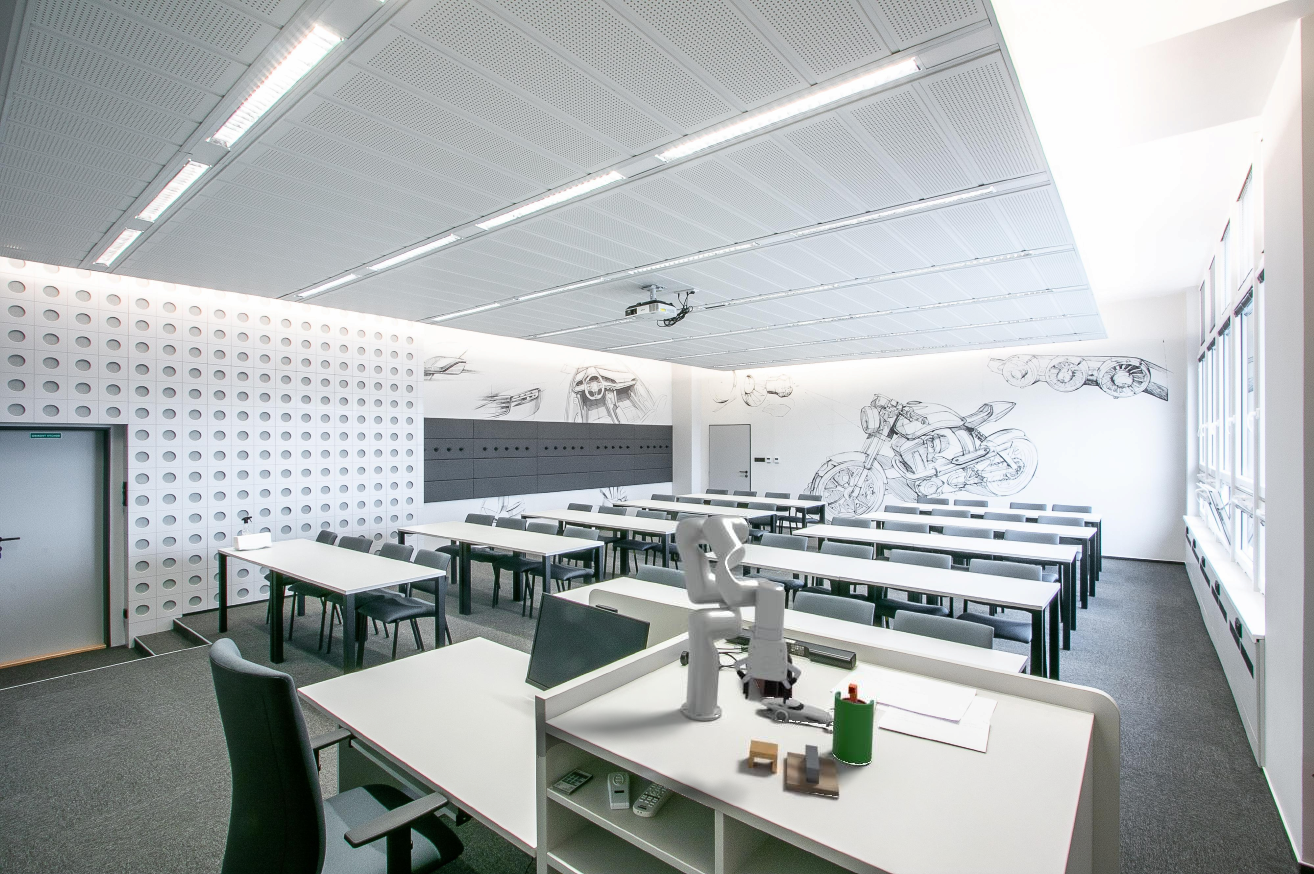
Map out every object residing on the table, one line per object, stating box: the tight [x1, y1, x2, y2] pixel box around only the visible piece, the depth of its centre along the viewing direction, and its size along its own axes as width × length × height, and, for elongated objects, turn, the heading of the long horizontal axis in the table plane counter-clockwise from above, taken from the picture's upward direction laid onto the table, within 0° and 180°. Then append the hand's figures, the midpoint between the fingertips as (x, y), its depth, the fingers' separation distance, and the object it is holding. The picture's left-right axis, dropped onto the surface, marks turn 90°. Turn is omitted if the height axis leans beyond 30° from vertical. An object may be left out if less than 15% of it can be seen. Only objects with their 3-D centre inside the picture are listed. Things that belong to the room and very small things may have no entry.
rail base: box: [786, 751, 840, 797], centre depth 149 cm, size 16×12×2 cm
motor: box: [831, 683, 875, 764], centre depth 161 cm, size 10×9×20 cm
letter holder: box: [754, 649, 793, 699], centre depth 208 cm, size 10×20×14 cm, turn 0°
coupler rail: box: [804, 744, 820, 784], centre depth 150 cm, size 12×3×4 cm, turn 167°
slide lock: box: [748, 739, 779, 774], centre depth 154 cm, size 6×7×4 cm
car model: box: [760, 698, 834, 727], centre depth 184 cm, size 11×24×5 cm, turn 70°
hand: (765, 699), depth 154 cm, fingers open, 9 cm apart
